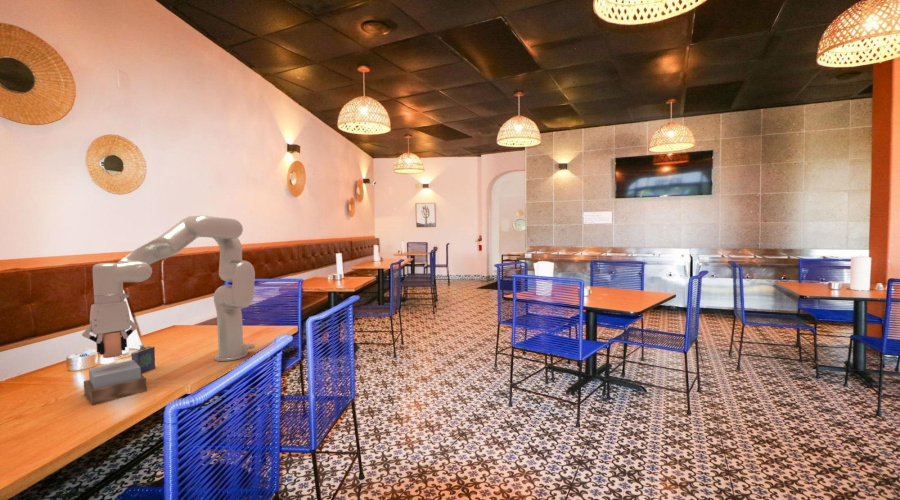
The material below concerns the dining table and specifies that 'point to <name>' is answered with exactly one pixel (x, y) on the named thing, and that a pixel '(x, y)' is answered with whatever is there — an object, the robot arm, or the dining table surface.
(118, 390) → the bottom block
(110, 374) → the top block
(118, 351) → the brown rectangular block
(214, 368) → the dining table surface
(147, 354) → the dark panel with clover
